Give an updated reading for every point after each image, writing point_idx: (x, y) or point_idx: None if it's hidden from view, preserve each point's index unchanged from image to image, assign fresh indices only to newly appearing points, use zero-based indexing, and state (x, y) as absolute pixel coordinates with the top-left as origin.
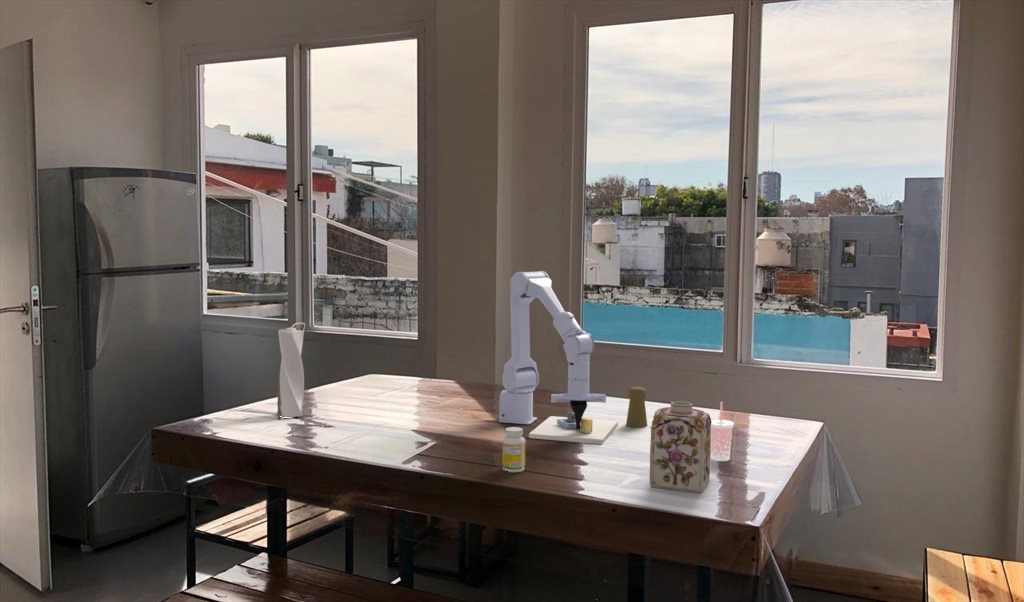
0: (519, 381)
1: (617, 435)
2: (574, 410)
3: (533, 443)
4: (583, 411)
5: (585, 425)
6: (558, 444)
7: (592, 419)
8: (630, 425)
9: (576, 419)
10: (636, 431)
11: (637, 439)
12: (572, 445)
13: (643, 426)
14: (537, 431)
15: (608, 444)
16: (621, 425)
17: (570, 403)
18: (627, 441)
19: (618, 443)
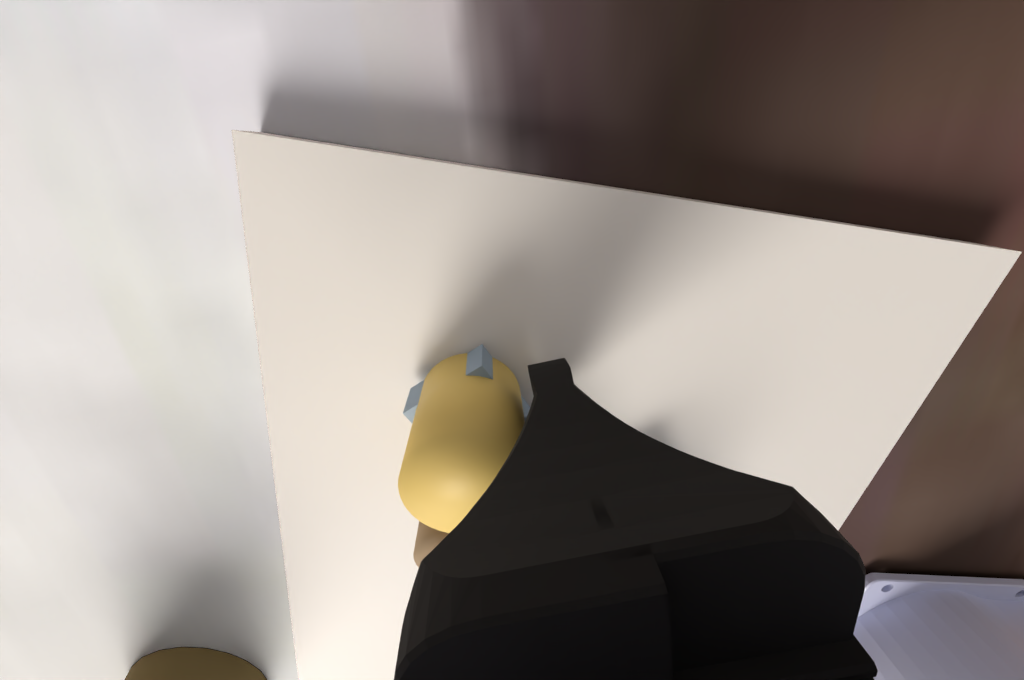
0: None
1: (232, 465)
2: (692, 469)
3: (998, 24)
4: (495, 495)
5: (469, 392)
6: (734, 29)
7: (413, 555)
8: (218, 663)
9: (593, 403)
10: (139, 580)
11: (11, 385)
12: (579, 8)
13: (135, 667)
14: (912, 344)
15: (197, 141)
16: (290, 665)
17: (869, 669)
18: (62, 301)
19: (112, 206)
